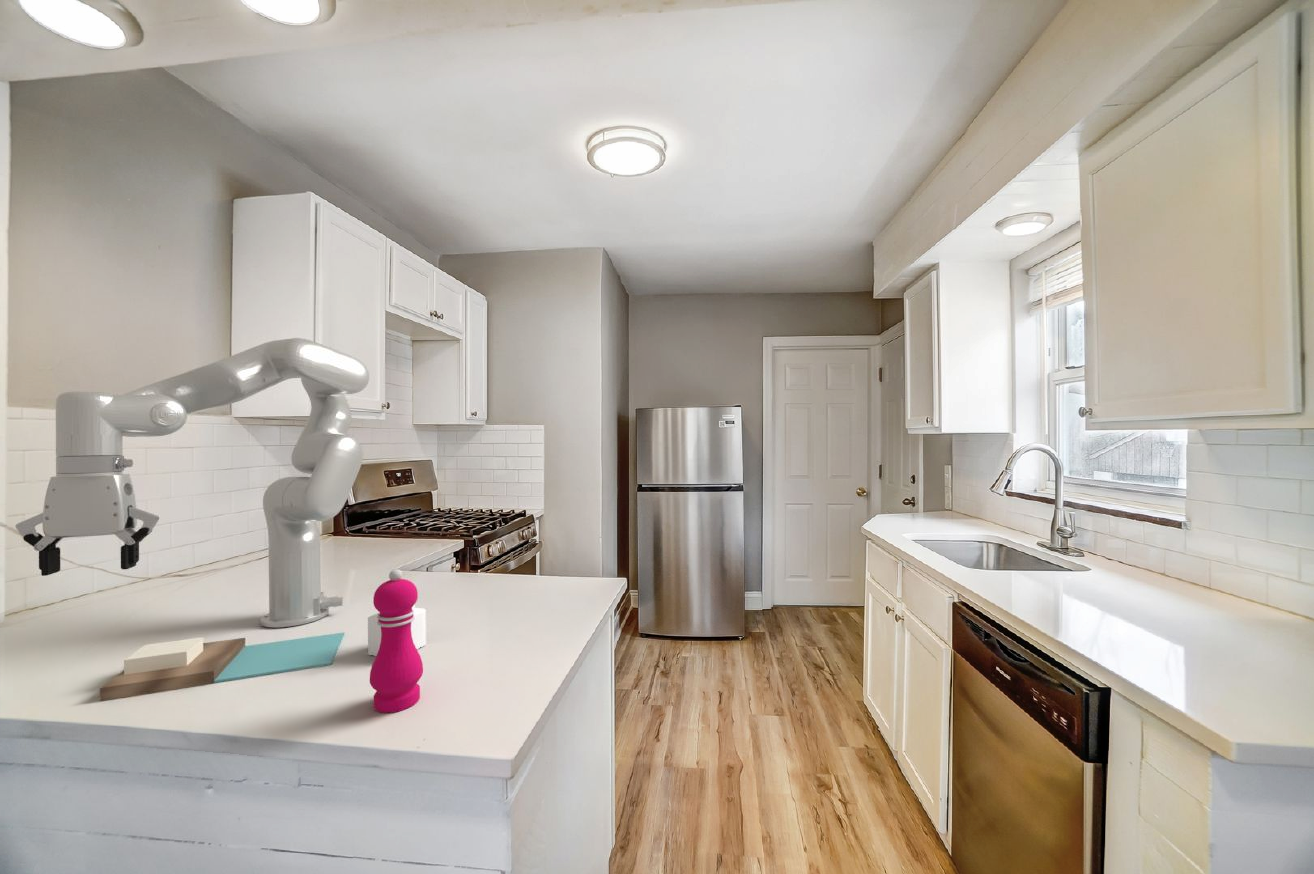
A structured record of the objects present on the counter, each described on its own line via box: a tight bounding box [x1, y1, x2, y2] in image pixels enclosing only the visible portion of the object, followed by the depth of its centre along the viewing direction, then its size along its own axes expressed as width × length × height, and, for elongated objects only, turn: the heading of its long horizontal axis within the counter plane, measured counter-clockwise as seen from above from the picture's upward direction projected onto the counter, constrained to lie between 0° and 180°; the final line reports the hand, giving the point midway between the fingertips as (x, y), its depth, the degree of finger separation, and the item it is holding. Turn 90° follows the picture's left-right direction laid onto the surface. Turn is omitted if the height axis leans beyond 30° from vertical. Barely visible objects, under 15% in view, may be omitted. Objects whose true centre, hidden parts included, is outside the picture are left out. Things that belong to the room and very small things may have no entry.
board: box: [99, 637, 246, 702], centre depth 91 cm, size 14×16×2 cm
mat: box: [210, 631, 345, 684], centre depth 97 cm, size 17×16×1 cm
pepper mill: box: [369, 568, 424, 714], centre depth 79 cm, size 7×7×20 cm
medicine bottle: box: [367, 603, 427, 657], centre depth 99 cm, size 7×7×12 cm
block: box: [123, 637, 204, 675], centre depth 90 cm, size 8×7×2 cm
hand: (90, 570), depth 87 cm, fingers open, 9 cm apart
